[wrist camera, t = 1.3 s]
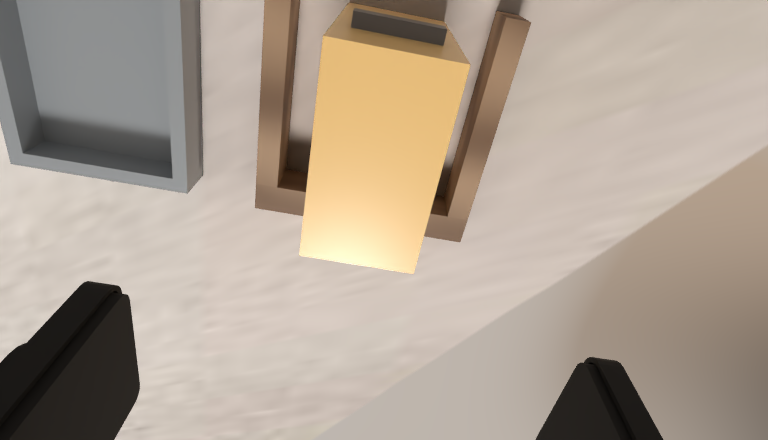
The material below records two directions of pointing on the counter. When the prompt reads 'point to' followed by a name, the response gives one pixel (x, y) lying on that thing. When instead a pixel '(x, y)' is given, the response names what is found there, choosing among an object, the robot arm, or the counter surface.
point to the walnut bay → (486, 106)
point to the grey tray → (104, 89)
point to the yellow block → (379, 136)
